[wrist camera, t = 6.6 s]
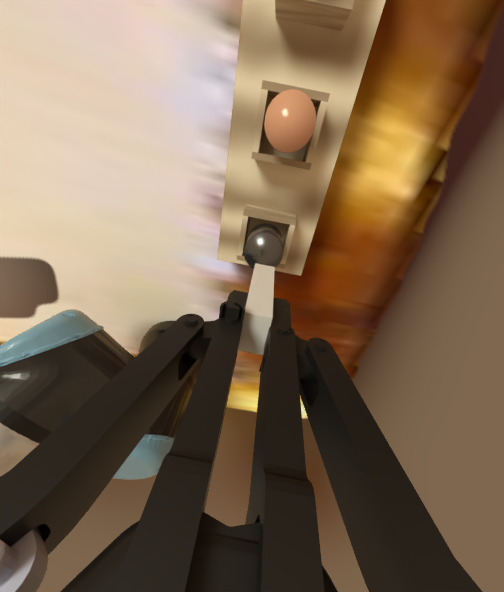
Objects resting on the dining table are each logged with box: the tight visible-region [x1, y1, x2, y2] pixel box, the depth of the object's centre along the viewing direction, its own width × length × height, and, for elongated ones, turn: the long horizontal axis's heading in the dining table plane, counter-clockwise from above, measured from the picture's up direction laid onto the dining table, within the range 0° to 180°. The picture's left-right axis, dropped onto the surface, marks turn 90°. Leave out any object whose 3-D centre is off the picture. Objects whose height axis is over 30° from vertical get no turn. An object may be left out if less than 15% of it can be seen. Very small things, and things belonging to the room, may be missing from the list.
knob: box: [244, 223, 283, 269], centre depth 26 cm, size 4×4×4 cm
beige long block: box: [217, 0, 386, 276], centre depth 26 cm, size 32×12×10 cm, turn 170°
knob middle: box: [264, 89, 316, 153], centre depth 20 cm, size 4×4×4 cm
